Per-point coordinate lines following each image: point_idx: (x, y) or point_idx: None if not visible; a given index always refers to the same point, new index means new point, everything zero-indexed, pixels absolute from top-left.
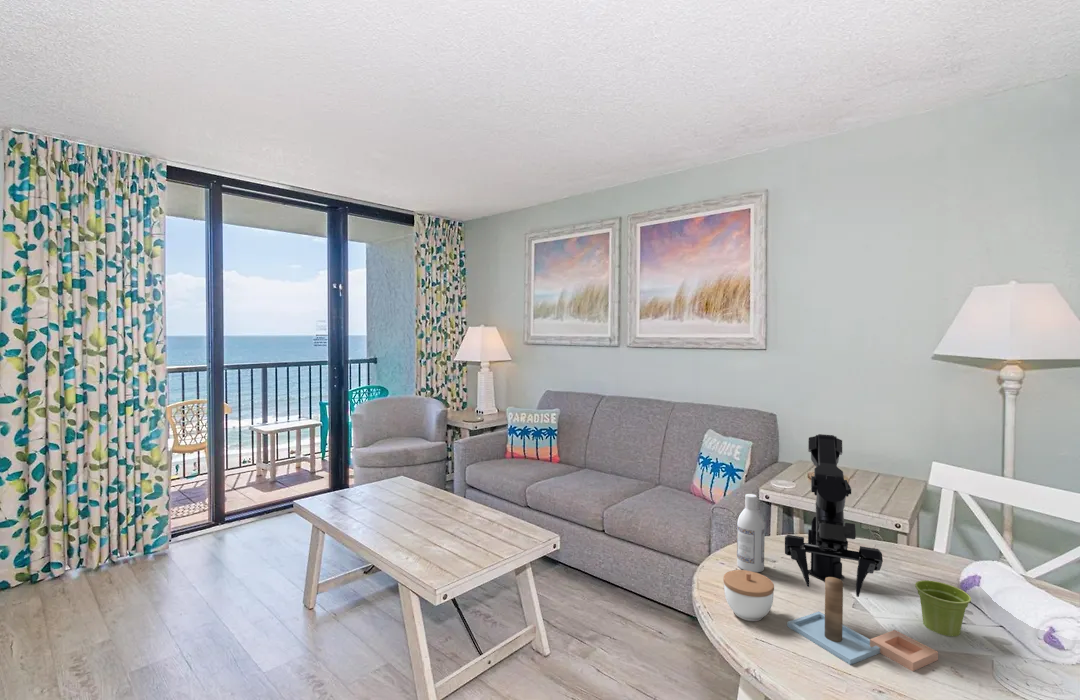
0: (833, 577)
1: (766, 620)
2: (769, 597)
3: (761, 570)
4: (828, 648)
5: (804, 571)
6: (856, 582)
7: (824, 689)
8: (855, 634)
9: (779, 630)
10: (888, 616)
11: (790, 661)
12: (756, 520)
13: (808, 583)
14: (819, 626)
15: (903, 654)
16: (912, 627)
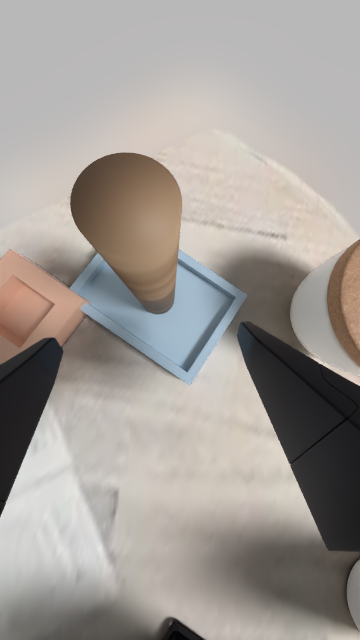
0: (130, 248)
1: (281, 311)
2: (324, 277)
3: (351, 580)
4: None
5: (296, 351)
6: (25, 425)
7: (169, 152)
8: (114, 322)
9: (253, 286)
10: (37, 490)
11: (222, 197)
12: None
13: (247, 323)
14: (185, 328)
15: (23, 271)
16: None
